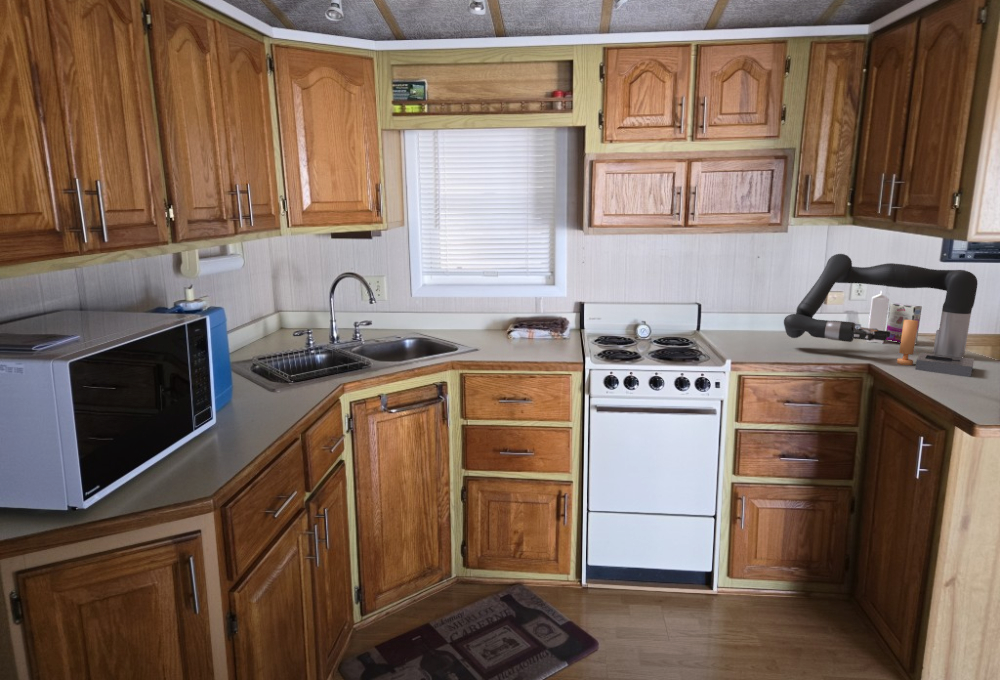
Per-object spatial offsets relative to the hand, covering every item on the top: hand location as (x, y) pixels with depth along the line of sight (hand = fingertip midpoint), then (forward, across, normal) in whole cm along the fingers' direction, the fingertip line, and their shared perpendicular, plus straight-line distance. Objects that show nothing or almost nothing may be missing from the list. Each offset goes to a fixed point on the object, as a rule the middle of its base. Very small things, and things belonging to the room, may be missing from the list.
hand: (888, 336), depth 240 cm
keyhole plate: (+18, 0, +10) cm, 21 cm away
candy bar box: (0, +47, +10) cm, 48 cm away
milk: (-9, +41, +10) cm, 43 cm away
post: (+6, 0, +10) cm, 11 cm away
